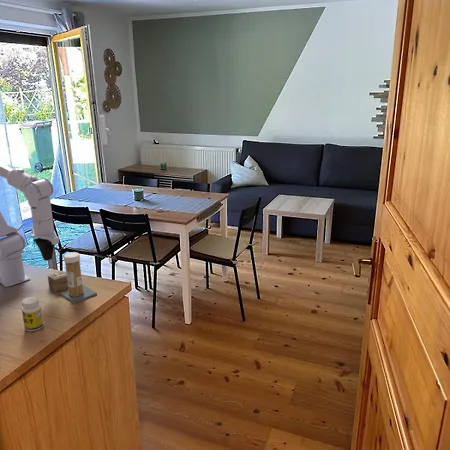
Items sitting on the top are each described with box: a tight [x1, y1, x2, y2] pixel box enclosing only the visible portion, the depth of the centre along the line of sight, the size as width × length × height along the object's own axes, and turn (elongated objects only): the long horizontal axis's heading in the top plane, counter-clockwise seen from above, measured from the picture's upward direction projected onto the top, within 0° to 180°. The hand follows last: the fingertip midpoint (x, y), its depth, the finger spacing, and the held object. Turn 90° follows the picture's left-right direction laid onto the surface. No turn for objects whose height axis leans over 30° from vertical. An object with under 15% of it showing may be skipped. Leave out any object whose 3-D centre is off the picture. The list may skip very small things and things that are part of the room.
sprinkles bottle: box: [63, 251, 83, 297], centre depth 131 cm, size 5×5×13 cm
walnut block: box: [47, 271, 68, 293], centre depth 138 cm, size 4×4×5 cm
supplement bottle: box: [21, 296, 44, 332], centre depth 115 cm, size 5×5×8 cm
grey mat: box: [60, 284, 98, 304], centre depth 134 cm, size 8×8×1 cm
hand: (47, 259), depth 134 cm, fingers closed
